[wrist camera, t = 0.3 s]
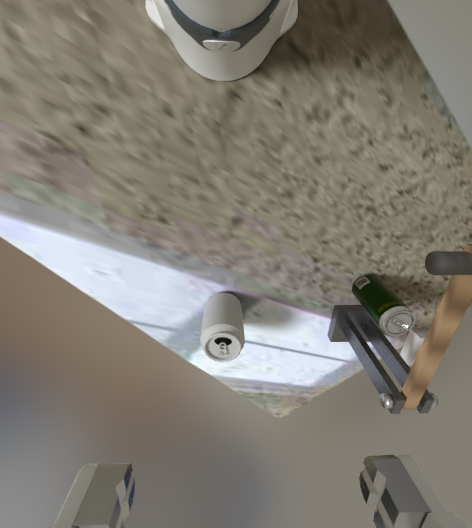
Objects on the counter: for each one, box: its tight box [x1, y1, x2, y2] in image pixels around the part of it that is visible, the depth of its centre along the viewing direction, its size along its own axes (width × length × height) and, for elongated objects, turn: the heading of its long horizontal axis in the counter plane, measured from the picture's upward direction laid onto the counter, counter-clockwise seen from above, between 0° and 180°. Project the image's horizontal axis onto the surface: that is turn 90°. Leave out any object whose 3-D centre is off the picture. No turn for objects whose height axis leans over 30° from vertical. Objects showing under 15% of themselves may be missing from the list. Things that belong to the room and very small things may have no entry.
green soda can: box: [352, 274, 415, 336], centre depth 47 cm, size 5×5×12 cm
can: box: [200, 293, 245, 362], centre depth 48 cm, size 8×8×12 cm
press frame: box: [328, 305, 438, 414], centre depth 47 cm, size 8×10×20 cm
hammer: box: [400, 244, 472, 410], centre depth 35 cm, size 26×9×4 cm, turn 179°
